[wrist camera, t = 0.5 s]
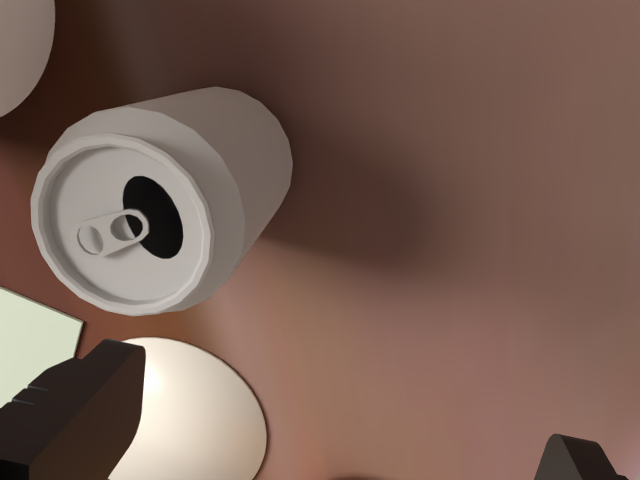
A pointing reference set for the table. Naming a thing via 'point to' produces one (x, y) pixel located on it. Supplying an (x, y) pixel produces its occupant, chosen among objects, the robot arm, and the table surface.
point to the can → (160, 198)
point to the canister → (23, 48)
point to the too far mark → (31, 341)
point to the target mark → (193, 419)
